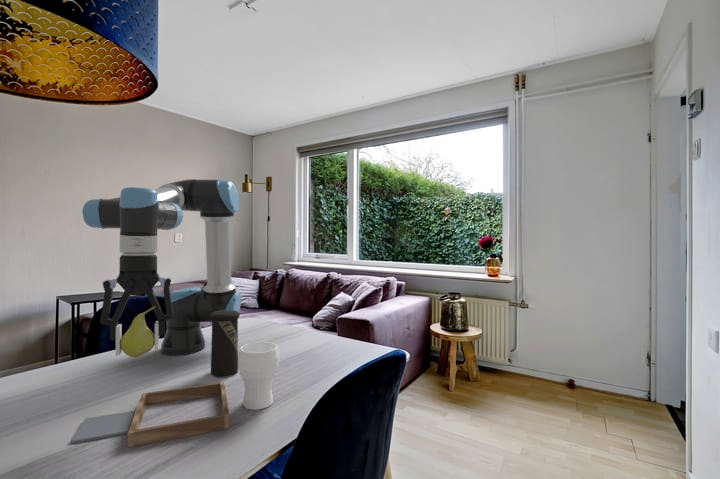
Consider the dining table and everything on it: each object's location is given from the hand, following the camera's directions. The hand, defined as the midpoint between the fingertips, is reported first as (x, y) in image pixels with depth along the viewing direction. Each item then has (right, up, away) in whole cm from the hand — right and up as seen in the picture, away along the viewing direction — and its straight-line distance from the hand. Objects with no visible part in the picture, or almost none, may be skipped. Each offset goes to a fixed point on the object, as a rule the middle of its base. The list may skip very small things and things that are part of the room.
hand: (138, 351), depth 84 cm
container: (+8, -17, +31) cm, 36 cm away
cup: (+25, -18, +11) cm, 33 cm away
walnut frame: (+9, -17, +4) cm, 20 cm away
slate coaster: (-6, -17, -2) cm, 18 cm away
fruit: (0, -1, 0) cm, 1 cm away
